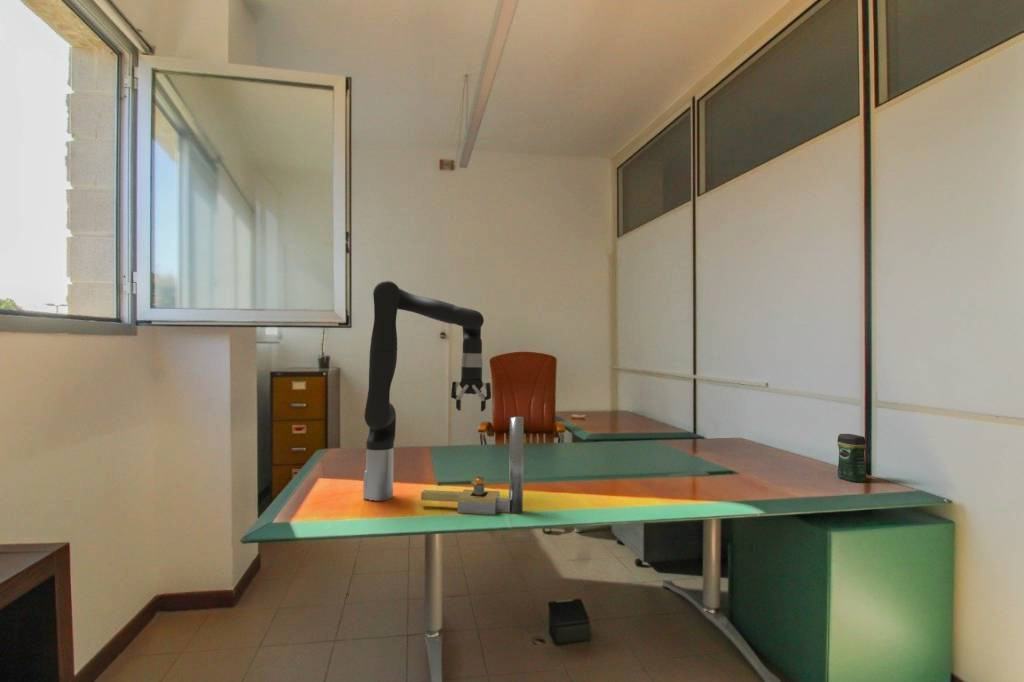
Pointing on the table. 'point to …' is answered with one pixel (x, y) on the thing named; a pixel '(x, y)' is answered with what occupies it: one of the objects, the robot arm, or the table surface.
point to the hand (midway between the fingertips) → (470, 410)
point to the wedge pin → (479, 486)
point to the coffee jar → (851, 457)
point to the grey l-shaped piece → (492, 498)
